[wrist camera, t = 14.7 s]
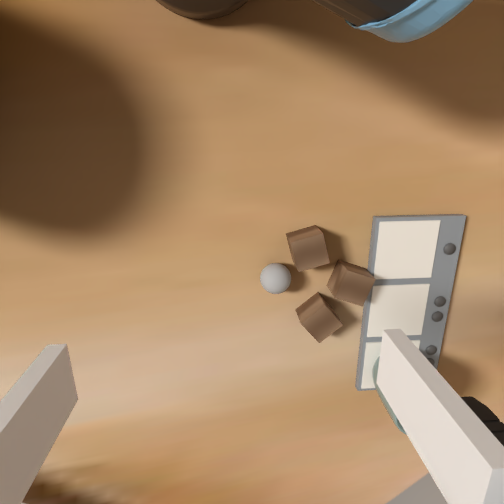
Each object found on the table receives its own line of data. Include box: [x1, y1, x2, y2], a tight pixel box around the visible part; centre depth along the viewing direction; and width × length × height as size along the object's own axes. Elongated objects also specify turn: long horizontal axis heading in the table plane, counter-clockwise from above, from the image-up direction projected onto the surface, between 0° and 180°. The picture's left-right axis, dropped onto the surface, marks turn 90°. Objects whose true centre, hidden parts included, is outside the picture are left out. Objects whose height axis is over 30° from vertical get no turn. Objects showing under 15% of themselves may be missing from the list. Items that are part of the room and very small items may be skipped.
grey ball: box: [260, 263, 291, 294], centre depth 46 cm, size 4×4×4 cm
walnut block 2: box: [296, 292, 343, 343], centre depth 49 cm, size 4×4×4 cm
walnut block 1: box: [286, 225, 330, 272], centre depth 45 cm, size 4×4×4 cm
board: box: [355, 214, 466, 391], centre depth 51 cm, size 27×12×1 cm, turn 0°
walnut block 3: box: [327, 260, 376, 306], centre depth 47 cm, size 4×4×4 cm
